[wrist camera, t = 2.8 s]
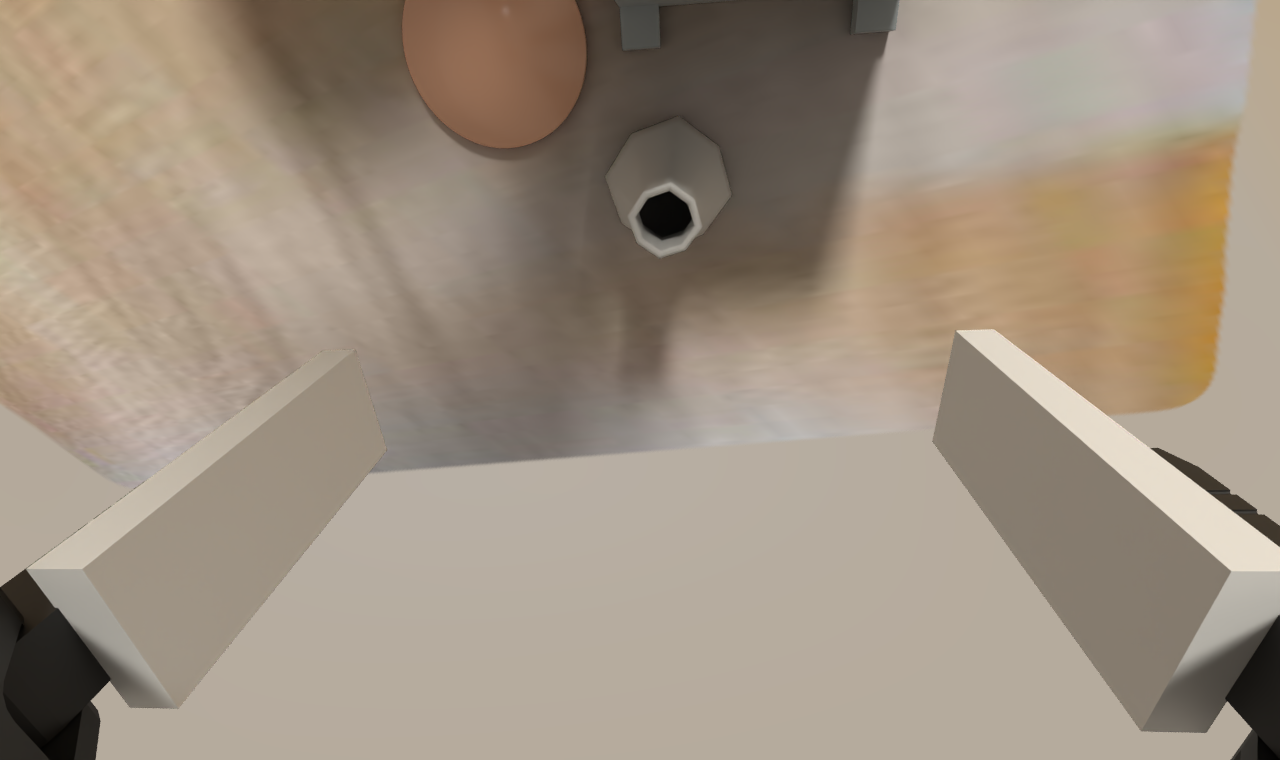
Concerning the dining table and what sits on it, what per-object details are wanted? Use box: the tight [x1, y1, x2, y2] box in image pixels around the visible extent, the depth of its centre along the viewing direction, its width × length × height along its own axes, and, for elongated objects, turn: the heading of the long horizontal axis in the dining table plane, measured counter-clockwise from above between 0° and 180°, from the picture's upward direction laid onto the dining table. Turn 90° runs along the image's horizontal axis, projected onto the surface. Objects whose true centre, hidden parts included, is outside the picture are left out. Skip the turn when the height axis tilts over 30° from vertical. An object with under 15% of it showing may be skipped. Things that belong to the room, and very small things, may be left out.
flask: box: [605, 116, 732, 259], centre depth 30 cm, size 7×7×10 cm
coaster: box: [402, 0, 587, 148], centre depth 31 cm, size 10×10×1 cm
